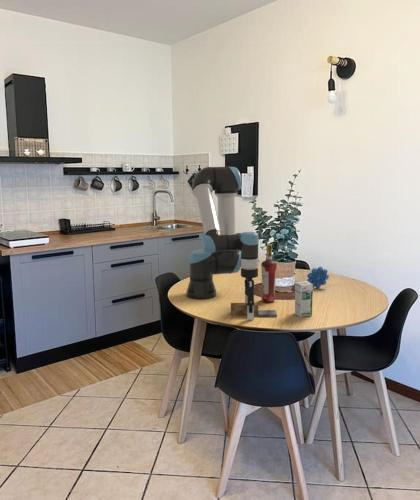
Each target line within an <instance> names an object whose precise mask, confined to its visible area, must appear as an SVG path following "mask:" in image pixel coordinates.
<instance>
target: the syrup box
mask: <svg viewBox="0 0 420 500" xmlns="http://www.w3.org/2000/svg"><path fill="white" fill-rule="evenodd" d="M294 284H295V285H294V286H295V287H294V289H295V290H294V313H295V315H297V316H299V317H301V318H302V317H309V316H310V317H312V316H313V296H314V295H313V291H314V290H313V289H314V288H313V284H312V283H310V282H307V280H305V281H297V282H295V283H294Z"/></svg>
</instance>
